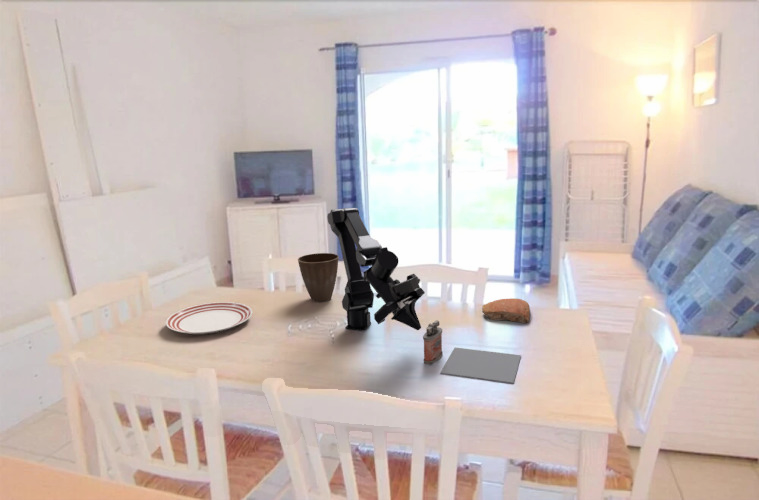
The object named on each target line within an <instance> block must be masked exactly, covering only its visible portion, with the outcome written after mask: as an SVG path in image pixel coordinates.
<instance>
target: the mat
mask: <svg viewBox="0 0 759 500" xmlns="http://www.w3.org/2000/svg"><path fill="white" fill-rule="evenodd" d="M521 358H522V355H521V354H514V353H505V352H496V351H490V350H489V351H487V350H481V349H480V350H479V349H471V348H470V349H469V348H463V347H454V348H453V350H452V352H451V353H450V355H449V357H448V358H447V359H446V361H445V364H444V365H443V366H442V369H441V370H440V372H439V374H440V375H446V376H447V375H449V376H454V377H463V378H470V379H476V380H484V381H491V382H498V383H505V384H513V385H514V383H515V378H516V376H517V372H518V367H519V364H520V361H521Z"/></svg>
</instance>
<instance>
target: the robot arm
mask: <svg viewBox="0 0 759 500" xmlns="http://www.w3.org/2000/svg"><path fill="white" fill-rule="evenodd" d="M326 217H327V222H328V225H330V230H331V232H332V233H333V234H334V235H335V236H336V237H337V238H338V241H339V247H340V251H341V255H342V260H343V265H344V269H345V274H346V279H347V283H346V285H345V287H344V296H343V298H342V300H341V305H342V306H341V307H342V309H343V310H345V311H346V321H347V325H346V326H345V329H347V330H353V331H365V330H366V329H368V327H369V326H370V325H371V324H372V320H371V312H370V311H369V309H372V308H373V305H374V298H375V297H376V299H380V298H381V300H382V301H383V302H384V303H385V304H383V305H382V306H381V307H379V309H377V311H376V312H374V313H373V320H375V321H376V323H377V324H378V325H380V324H381V323H383V322H385V321H386V318H387V317H388V316H389V315H390V314H392V317H391V320H392V321H393V320H395V321H397V322H398V323H402V324H403V325H405V326H408V327H410V328H412V329H414V330H416V331H420V330H421V329H422V325H421V322H420V320H419V317H418V315H417V312H416V303H417V302H418V300H419V299H421V297H422V296H423V295H425V291H424V290H423V289H422V287H421V286H420V285H419V284H420V281H421V279H420V278H419V277H418V276H417V275H416V273H412V274H409V275H407V276H406V279H405V280H404V281H400V280H399V279H395V280H394V279H393V278H392V274H393V273H394V271H395V270H396V269H397V267H398V265H399V258H398V256H397V255H396V254H395V253H394V252H392V251H390V250H389V249H388V247H387V246H386V247H385V246H384V247H382V245H381V244H380V242H379V241H378V240H376V239H375V238H373V237H371V235H370V233H369V232H368V229H367V228H366V226H365V224H364V222H363V219H362V218H361V216H360V212H359V209H358V207H357V208H356V207H345V208H335V209H331V210H330V212H329V213H327V216H326ZM362 267H363V268H365V267H369V268H368V269H366V270H365V271H363V273H362ZM372 289H374V291H375V292H376V295H375V293H374V291H373V290H372Z"/></svg>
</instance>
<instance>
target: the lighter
mask: <svg viewBox="0 0 759 500" xmlns="http://www.w3.org/2000/svg"><path fill="white" fill-rule="evenodd" d="M439 326H440V321H439V319H436V320H435V321H433V322H432V323H428V325H427V326H426V331H425V333H424V334H423V336H422V339H423V357H424V358H423V364H424V365H426V366H427V365H429V366H431V365H433V364H436V363H437V362H439V360H440V359H441V358H442V356H443V349H442V348H443V345H442V344H443V341H442V339H443V337H442V336H443V328H442V327H439Z"/></svg>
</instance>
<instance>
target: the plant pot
mask: <svg viewBox="0 0 759 500" xmlns="http://www.w3.org/2000/svg"><path fill="white" fill-rule="evenodd" d="M339 258H340V257H339V254H336V253H332V252H331V253H329V252H317V253H310V254H309V253H308V254H305V255H302V256H300V257H298V258H297V262H298V266H299V270H300V275H301V277H302V280H303V283H304V286H305V289H306V291H307V293H308V295H309V297H310V299H311V301H312V302H317V303H321V302H328V301H329V300H331V299H332V297H333V293H334V290H335V286H336V283H337V277H338V276H337V275H338V270H339V269H338V268H339Z"/></svg>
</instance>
